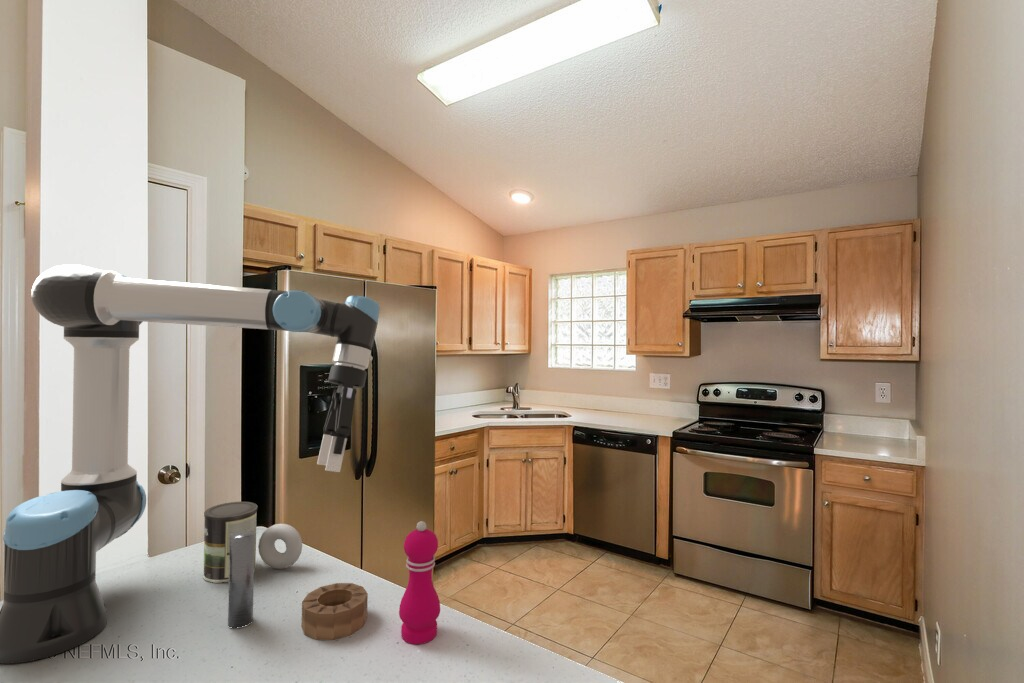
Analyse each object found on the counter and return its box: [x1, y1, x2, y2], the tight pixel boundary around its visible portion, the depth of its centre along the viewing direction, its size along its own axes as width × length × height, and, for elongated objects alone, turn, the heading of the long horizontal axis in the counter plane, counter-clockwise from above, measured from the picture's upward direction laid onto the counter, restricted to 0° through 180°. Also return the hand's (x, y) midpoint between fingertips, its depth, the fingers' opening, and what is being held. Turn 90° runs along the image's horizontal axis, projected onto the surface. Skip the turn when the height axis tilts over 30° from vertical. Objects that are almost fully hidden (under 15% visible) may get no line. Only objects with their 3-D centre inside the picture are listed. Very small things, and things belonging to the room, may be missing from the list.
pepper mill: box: [398, 520, 441, 645], centre depth 89 cm, size 7×7×20 cm
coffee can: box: [202, 501, 259, 584], centre depth 111 cm, size 10×10×14 cm
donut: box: [258, 523, 303, 570], centre depth 113 cm, size 10×4×10 cm, turn 84°
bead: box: [301, 582, 369, 641], centre depth 92 cm, size 11×11×4 cm
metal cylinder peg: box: [227, 531, 255, 629], centre depth 91 cm, size 4×4×16 cm
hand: (327, 468), depth 103 cm, fingers open, 13 cm apart
